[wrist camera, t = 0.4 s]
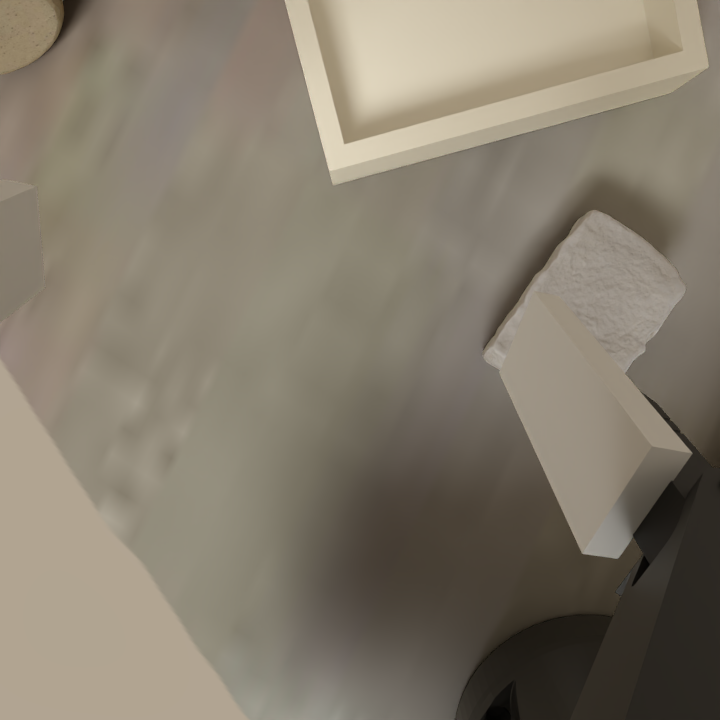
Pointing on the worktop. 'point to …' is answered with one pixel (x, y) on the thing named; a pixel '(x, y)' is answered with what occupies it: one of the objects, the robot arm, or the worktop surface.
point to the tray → (479, 70)
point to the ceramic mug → (27, 31)
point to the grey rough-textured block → (602, 289)
